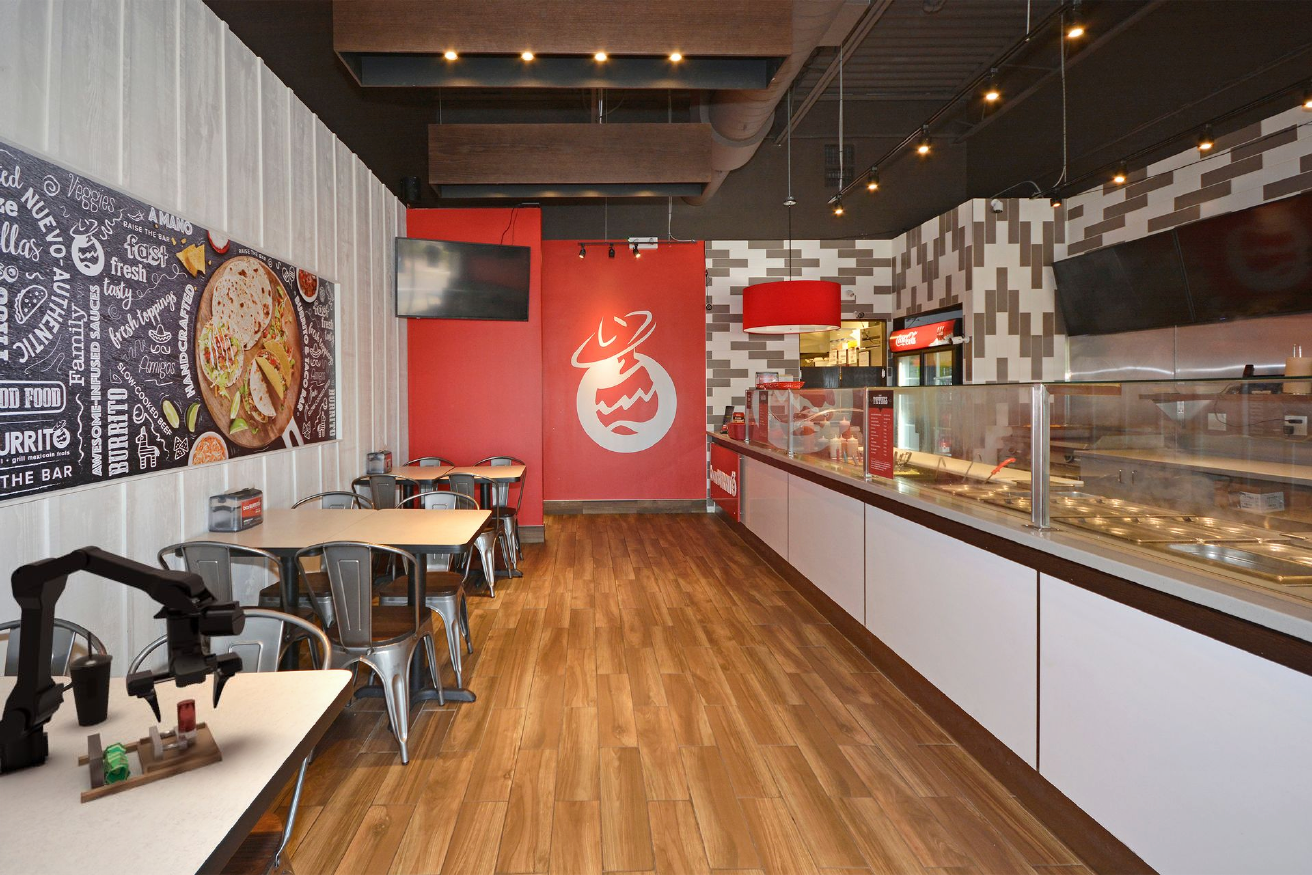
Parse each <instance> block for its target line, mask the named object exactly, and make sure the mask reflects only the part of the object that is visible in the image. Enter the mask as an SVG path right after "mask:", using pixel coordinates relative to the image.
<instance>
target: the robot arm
mask: <svg viewBox="0 0 1312 875" xmlns="http://www.w3.org/2000/svg"><path fill="white" fill-rule="evenodd" d="M79 571H83V572H87V573H90V574H92V575H95V576H99V577H101V578H104V579H108V580H110V581H114V582H117V583H119V584H123V585H125V586H128V587H131V588H134V589H136V590H137V589H138V590H140V591H143V592H144V593H146V594H147V595H148V596H149V598H151V600H153V601H155V602H157V603H159V604H160V605H163V606H162V607H161V608H160V610H159V611H158V612H157V613H155V615H153V617H152V618H153V619H154V620H161V619H162V620H165V621H166V624H165V625H166V644H167V646H166V647H167V648H166V649H167V670H168V671H164V672H159V673H154V674H153V672H152V670H151V669H147V670H142V671H138V672H132V673H129V674H128V675H127V676H126V678H125V688H126V693H127V695H128V697H136V698H137V699H138V700H139V699H145V701H146V702H147V703H148V705H149V706H150V709H152V712H153V714H154V716H155V719H156V720H157V722H158V724H160V723H162V713H161V710H160V709H161V708H160V705H159V700H158V696H157V695H158V694H157V690H156V689H155V685H158V684H162V683H167V682H171V681H174V682H175V686H176V688H180V689H183V688H186V687H188V686H191V685H196V684H197V685H198V684H199V685H200V684H203V683H205V682H206V680H207V676H208V675H210V674H213V686H212V705H213V706H212V708H213V709H217V708H218V704H219V702H220V699H221V695H222V692H223V690H224V688H225V686H226V683H227V682H228V680H230V678H233V677H235V676H236V673H239V672H242V671H243V668H244V666H243V664H244V663H243V659H242V657H241V656H240V654H238V652H236V651H231V652H227V653H226V652H225V653H222V654H218V655H217V653H210V654H205V653H204V652H203V636H204V637H205V638H219V637H234V636H235V637H237V636H240V635H241V634H242V633H243V631H244V628H245V626H246V613H245V611H244V609H243V608H242V606H240V605H241V604H240V601H239V600H232V601H226V602H218V601H219V599H218V598H217V596H215V595H214V594H213V593H212V592H211V590H209V589H208V587H207V586H206V585H205V582H204V580H203V576H201V575H200V574H198V573H195V572H192V571H191V572H190V571H185V570H178V569H177V570H176V569H162V568H158V567H157V568H156V567H155V566H151V565H149V564H145V563H142V562H139V561H135V560H132V559H130V558H127V557H124V556H121V555H119V554H115V553H112V552H109V551H106V550H103V549H101V548H100V547H99V546H95V545H87V546H84V547H79V548H77V549H74V550H73V551H71V552H69V553H67V554H64V555H62V556H59V557H46V558H43V559H40V560H36V561H32V562H30V563H27V564H24V565H21V566H19V567H18V568H16V569H15V570H13V571H12V573H11V576H10V584H11V585H10V587H11V593H12V597H13V599H14V601H16V603H17V605H18V606H19V608H20V624H19V625H20V628H19V640H18V641H19V643H18V656H17V658H18V659H17V674H16V675H17V676H16V682H15V685H14V686H13V687H12V689H11V691H10V692H9V694H8V696H7V698H6V700H5V705H4V708H3V711H2V715H1V719H0V776H3V775H7V774H10V773H14V772H18V771H22V770H26V769H30V768H34V767H37V766H40V765H44V764H45V763H46V759H47V757H49V755H50V754H49V752H50V751H49V732H47V731H44V726H45V725H47V724H48V723H51V721H52V718H53V715H54V714H55V713H56V712H57V711H59V709H60V706H61V704H63V703H65V699H64V696H63V694H64V693H63V692H64V690H65V684H64V682H59V683H56V681H55V680H54V679H53V677H52V659H53V646H54V631H55V630H54V629H55V615H56V614H55V612H56V605H57V602H58V600H59V599H60V598H61V596H62V594H63V592H64V591H65V589H66V585H67V583H68V582H67V581H68V578H69V576H70V575H72V574H74V573H77V572H79ZM195 600H198V601H197V602H194V601H195Z"/></svg>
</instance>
